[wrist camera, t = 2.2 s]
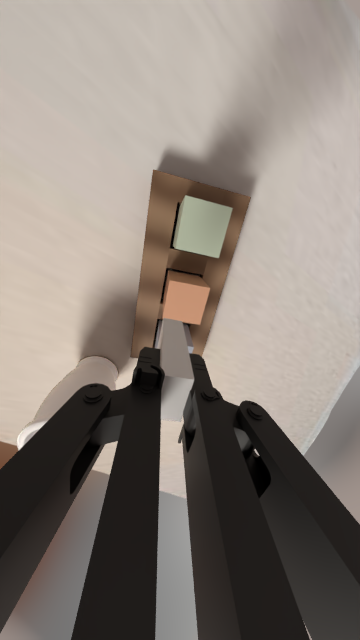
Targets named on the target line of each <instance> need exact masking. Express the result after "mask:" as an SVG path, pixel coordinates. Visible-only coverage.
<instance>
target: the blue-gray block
mask: <svg viewBox="0 0 360 640" xmlns="http://www.w3.org/2000/svg"><path fill="white" fill-rule="evenodd" d="M162 322H163V320H160V319H159V325H158V330H157V336H156V341H155V348H157V346H158V341H159V336H160V331H161V327H162ZM183 327H184V332H185V337H186V341H187V346H188V351H189V353H192V352H193V348H194V346H193V342H192V339H191V335H190V331H189V327H188V324H186V323H183Z"/></svg>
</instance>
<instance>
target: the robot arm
mask: <svg viewBox="0 0 360 640" xmlns="http://www.w3.org/2000/svg"><path fill="white" fill-rule="evenodd" d="M182 416H183V417H184V424H183V427H182V430H181V433H180V436H179V440H178V443H181V440H182V443H183V455H184V468H185V480H186V493H187V505H188V517H189V530H190V542H191V555H192V567H193V578H194V592H195V604H196V616H197V628H198V640H310V639H309V636H308V634H307V631H306V628H305V625H306V627H307V629H308V632H309V634H310V636H311V638H312V640H360V524H359V523H358V522H357V521H356V520H355V519H354V517H353V516H352V515H351V514H350V512H349V511H348V510H347V509H346V507H344V505H343V504H342V503H341V502H340V500H339V499H338V498H337V497H336V495H335V494H334V493H333V492H332V490H331V489H330V488H329V487H328V486H327V484H326V483H325V482H324V481H323V480H322V478H321V477H320V476H319V475H318V474H317V472H316V471H315V470H314V469H313V467H312V466H311V465H310V464H309V463H308V461H307V460H306V459H305V458H304V457H303V455H302V454H301V453H300V452H299V450H298V449H297V448H296V447H295V446H294V444H293V443H292V442H291V441H290V440H289V438H288V437H287V436H286V435H285V433H284V432H283V431H282V430H281V429H280V427H279V426H278V425H277V424H276V423H275V421H274V420H273V419H272V418H271V416H270V415H269V414H268V413H267V412H266V411H265V410H264V409H263V408H262V407H261V406H260V405H258V404H257V403H254V402H252V401H243V402H242V403H241V404H240V406H237V405H234V404H232V403H229V402H227V401H225V400H223V398H222V396H221V394H220V392H219V391H217V390H216V389H215V388H213V386H212V383H211V380H210V377H209V374H208V371H207V368H206V365H205V361H204V359H203V358H202V357H201V356H200V355H199V354H192V353H189V351H188V346H187V341H186V337H185V332H184V327H183V322H182V321H178V320H173V319H168V318H163V322H162V327H161V331H160V336H159V341H158V346H157V348H150V347H144V348H143V349H142V350H140V354H139V358H138V362H137V366H136V367H135V369H134V372H133V378H132V383H131V384H130V385H129V386H127V387H125V388H123V389H119V390H113V391H111V390H110V389H109V387H108V386H106V385H104V384H99V383H93V384H88V385H85V386H83V387H81V388H80V389H79V390H77V391H76V392H75V393H74V394H73V396H72V397H71V398H70V399H69V400H68V401H67V402H66V403H65V404H64V405H63V406H62V407H61V408H60V409H59V410H58V411H57V412H56V413H55V414H54V415H53V416H52V417H51V418H50V419H49V420H48V421H47V422H46V423H45V424H44V425H43V426H42V427H41V428H40V429H39V430H38V431H37V432H36V433H35V434H34V435H33V437H32V438H31V439H30V440H29V441H28V442H27V443H26V444H25V445H24V446H23V447H22V448H21V449H20V450H19V451H18V452H17V453H16V454H15V455H14V456H13V457H12V458H11V459H10V460H9V461H8V462H7V463H6V464H5V465H4V466H3V467H2V468H1V469H0V633H1V631H2V629H3V627H4V625H5V624H6V622H7V620H8V618H9V616H10V614H11V613H12V611H13V609H14V607H15V606H16V604H17V602H18V600H19V598H20V596H21V594H22V593H23V591H24V589H25V587H26V586H27V584H28V582H29V580H30V579H31V577H32V575H33V573H34V571H35V570H36V568H37V566H38V564H39V562H40V561H41V559H42V557H43V555H44V553H45V552H46V550H47V548H48V546H49V544H50V542H51V541H52V539H53V537H54V535H55V534H56V532H57V530H58V528H59V526H60V525H61V523H62V521H63V519H64V517H65V516H66V514H67V512H68V510H69V508H70V506H71V505H72V503H73V501H74V499H75V497H76V496H77V494H78V492H79V490H80V489H81V487H82V485H83V483H84V481H85V480H86V478H87V476H88V474H89V472H90V471H91V469H92V467H93V465H94V463H95V462H96V460H97V458H98V456H99V454H100V453H101V451H102V449H103V447H104V445H105V444H107V443H111V442H115V441H118V444H117V448H116V452H115V456H114V461H113V465H112V469H111V473H110V478H109V482H108V486H107V490H106V495H105V499H104V503H103V507H102V511H101V516H100V520H99V524H98V528H97V533H96V537H95V541H94V545H93V549H92V554H91V558H90V562H89V566H88V571H87V575H86V579H85V583H84V588H83V591H82V596H81V600H80V605H79V608H78V613H77V617H76V621H75V625H74V629H73V634H72V638H71V640H155V623H156V583H157V542H158V506H159V505H158V504H159V467H160V428H161V420H167V421H178V422H181V419H182ZM254 449H256V450H257V452H258V453H259V455H260V456H258V455H257V454H256V453H255V451H254ZM303 621H304V622H303ZM304 623H305V625H304Z"/></svg>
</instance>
